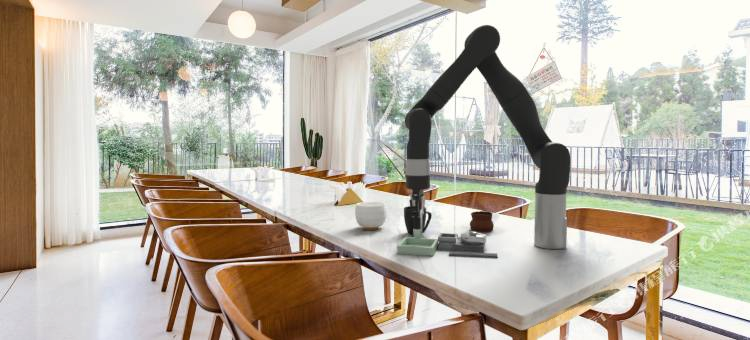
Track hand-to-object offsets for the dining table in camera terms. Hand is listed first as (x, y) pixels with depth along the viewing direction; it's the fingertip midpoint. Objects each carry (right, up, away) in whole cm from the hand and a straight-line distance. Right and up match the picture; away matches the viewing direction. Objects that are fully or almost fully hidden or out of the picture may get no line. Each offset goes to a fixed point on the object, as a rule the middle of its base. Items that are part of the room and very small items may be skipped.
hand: (417, 227), depth 130 cm
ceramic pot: (+27, -5, +27) cm, 39 cm away
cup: (-15, -5, +32) cm, 36 cm away
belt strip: (+16, -8, -6) cm, 19 cm away
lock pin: (0, -3, 0) cm, 3 cm away
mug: (+2, -6, +22) cm, 23 cm away
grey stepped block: (+15, -7, +3) cm, 16 cm away
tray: (0, -7, +1) cm, 7 cm away
